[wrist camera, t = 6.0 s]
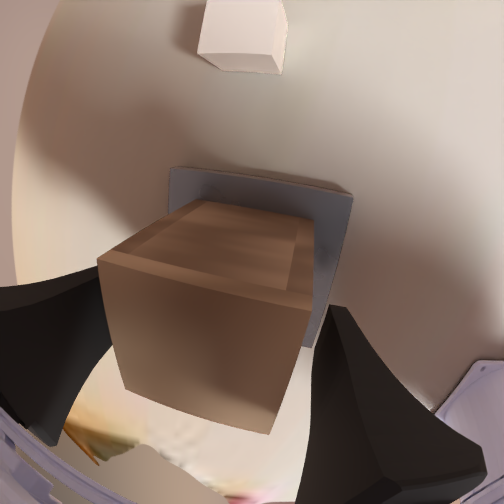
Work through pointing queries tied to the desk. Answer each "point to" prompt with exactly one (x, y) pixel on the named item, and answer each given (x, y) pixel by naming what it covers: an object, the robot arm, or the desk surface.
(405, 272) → the desk surface
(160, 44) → the desk surface
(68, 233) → the desk surface
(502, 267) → the desk surface
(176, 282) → the brown rectangular block
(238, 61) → the off-white cube
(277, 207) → the post
